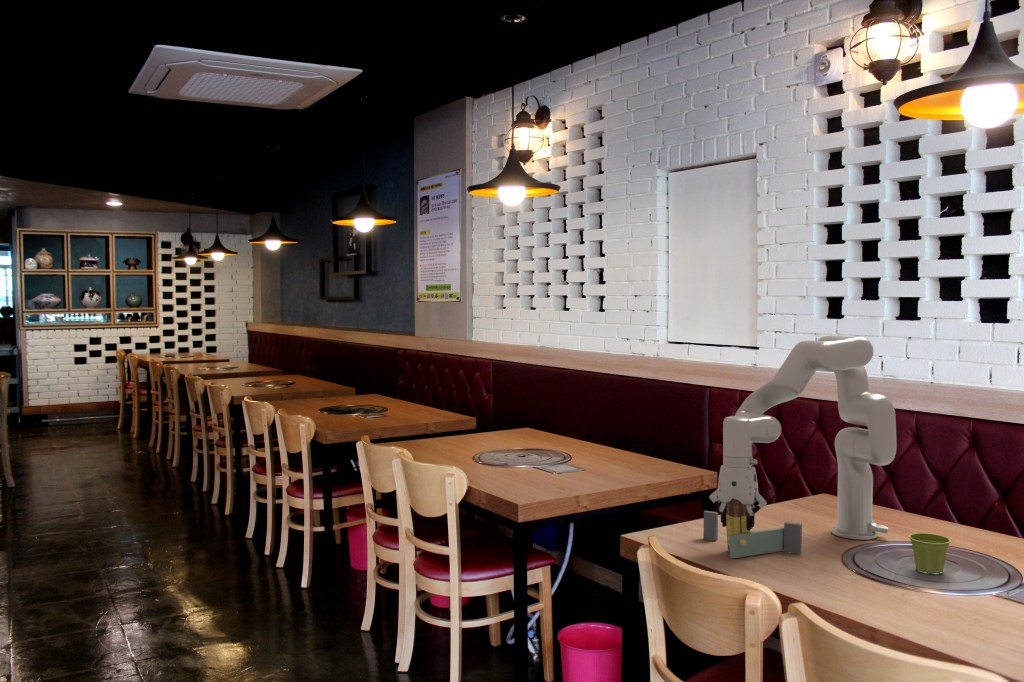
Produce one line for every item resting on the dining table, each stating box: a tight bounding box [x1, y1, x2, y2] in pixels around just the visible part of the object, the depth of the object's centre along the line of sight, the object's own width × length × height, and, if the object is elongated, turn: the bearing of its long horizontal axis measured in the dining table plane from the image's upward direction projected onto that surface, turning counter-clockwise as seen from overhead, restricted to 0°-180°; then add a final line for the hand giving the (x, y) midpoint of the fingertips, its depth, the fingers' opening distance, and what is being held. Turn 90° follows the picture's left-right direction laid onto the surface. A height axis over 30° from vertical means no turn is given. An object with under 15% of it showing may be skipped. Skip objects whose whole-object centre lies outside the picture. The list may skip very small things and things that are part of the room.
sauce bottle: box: [725, 481, 751, 551], centre depth 219 cm, size 6×6×20 cm
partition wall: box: [702, 510, 803, 555], centre depth 226 cm, size 27×2×8 cm, turn 58°
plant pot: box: [908, 532, 952, 573], centre depth 204 cm, size 9×9×9 cm
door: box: [729, 527, 784, 559], centre depth 217 cm, size 18×3×6 cm, turn 115°
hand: (737, 526), depth 219 cm, fingers closed on sauce bottle, 6 cm apart
